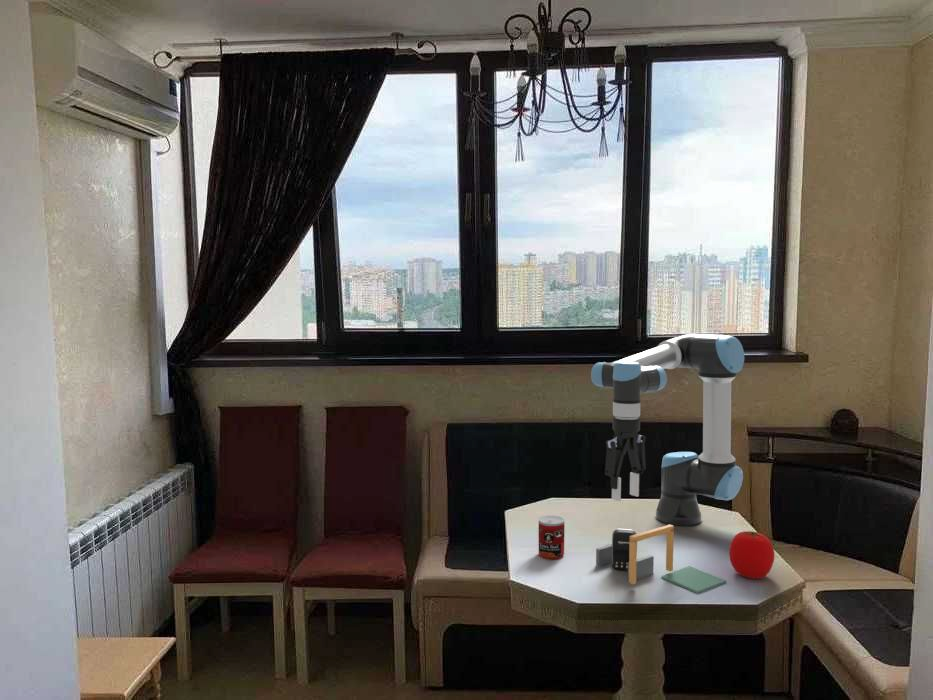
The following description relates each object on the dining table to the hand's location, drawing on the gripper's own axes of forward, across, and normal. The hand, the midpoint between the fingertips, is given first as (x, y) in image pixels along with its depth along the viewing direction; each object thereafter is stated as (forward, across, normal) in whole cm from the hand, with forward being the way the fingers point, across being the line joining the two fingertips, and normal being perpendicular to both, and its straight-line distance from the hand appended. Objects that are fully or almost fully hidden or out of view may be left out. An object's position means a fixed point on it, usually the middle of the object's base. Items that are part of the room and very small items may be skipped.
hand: (625, 497), depth 195 cm
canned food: (+21, +10, -20) cm, 31 cm away
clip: (+21, 0, 0) cm, 21 cm away
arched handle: (+20, 0, +10) cm, 22 cm away
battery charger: (+21, 0, 0) cm, 21 cm away
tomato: (+21, -26, +23) cm, 41 cm away
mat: (+21, -10, +16) cm, 28 cm away
